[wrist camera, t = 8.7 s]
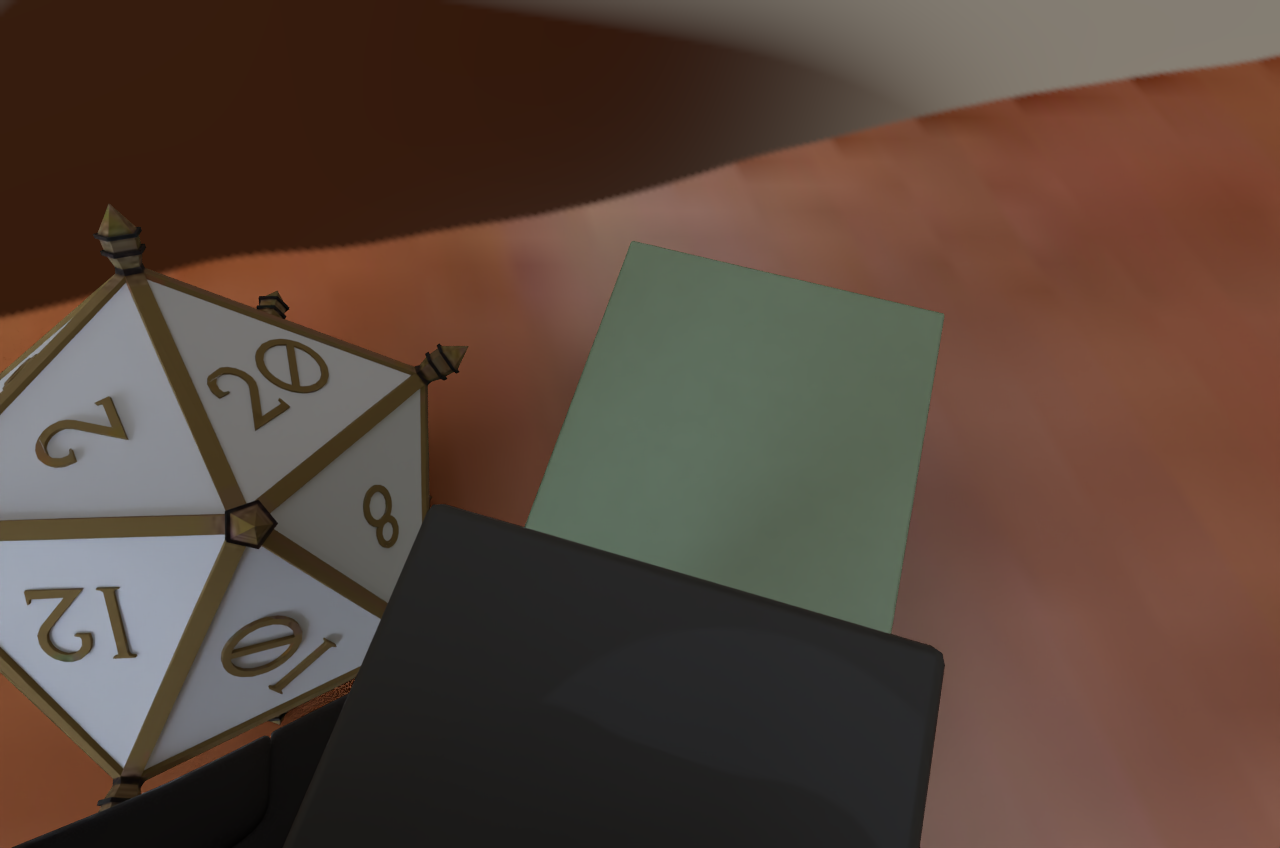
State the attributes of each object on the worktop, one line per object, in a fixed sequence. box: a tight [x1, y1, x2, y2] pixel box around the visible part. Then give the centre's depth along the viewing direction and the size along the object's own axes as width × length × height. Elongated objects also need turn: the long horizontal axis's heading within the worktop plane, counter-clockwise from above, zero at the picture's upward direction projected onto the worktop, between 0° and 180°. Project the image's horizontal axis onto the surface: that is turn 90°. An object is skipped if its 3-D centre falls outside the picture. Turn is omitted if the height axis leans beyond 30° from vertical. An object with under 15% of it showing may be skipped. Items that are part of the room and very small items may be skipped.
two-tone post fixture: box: [283, 241, 945, 848], centre depth 11 cm, size 11×6×13 cm, turn 163°
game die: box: [0, 204, 468, 812], centre depth 13 cm, size 9×8×10 cm
